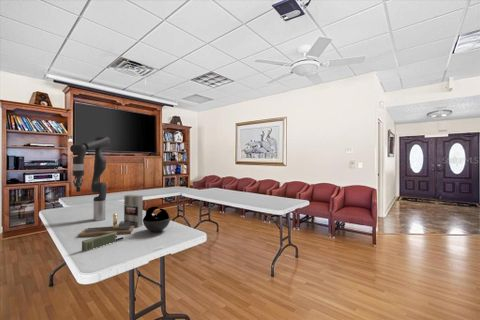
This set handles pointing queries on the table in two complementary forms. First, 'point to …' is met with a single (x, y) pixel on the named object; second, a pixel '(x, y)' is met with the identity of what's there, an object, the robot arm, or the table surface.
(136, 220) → the cassette tape recorder
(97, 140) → the robot arm
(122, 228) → the steel keeper
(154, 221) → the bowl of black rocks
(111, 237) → the handheld radio
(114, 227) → the brass bolt
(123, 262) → the table surface
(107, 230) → the wooden track base
